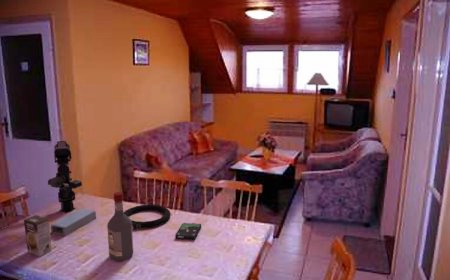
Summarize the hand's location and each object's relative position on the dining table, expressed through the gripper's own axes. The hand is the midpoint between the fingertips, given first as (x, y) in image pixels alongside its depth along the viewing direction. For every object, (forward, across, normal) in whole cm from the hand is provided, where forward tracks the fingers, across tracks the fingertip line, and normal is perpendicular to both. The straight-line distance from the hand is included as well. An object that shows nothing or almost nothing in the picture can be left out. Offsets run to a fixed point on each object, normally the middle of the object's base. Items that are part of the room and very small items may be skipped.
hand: (66, 197), depth 194 cm
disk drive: (+14, +70, +10) cm, 72 cm away
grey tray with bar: (+13, +10, -5) cm, 17 cm away
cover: (+9, +9, -5) cm, 14 cm away
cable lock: (+14, +40, +16) cm, 45 cm away
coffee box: (+13, +14, -32) cm, 37 cm away
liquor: (+13, +52, -22) cm, 58 cm away
